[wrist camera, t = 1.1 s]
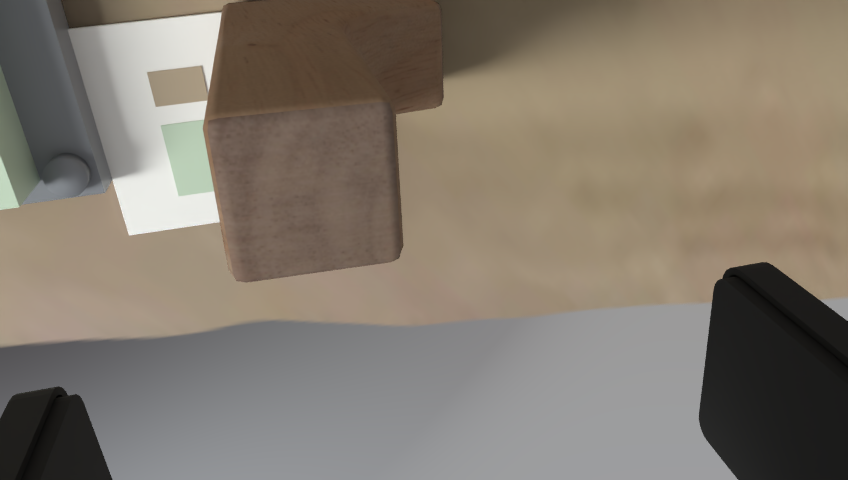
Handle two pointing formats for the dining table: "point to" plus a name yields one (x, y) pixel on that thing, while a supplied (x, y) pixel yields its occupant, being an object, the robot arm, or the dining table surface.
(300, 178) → the wooden block
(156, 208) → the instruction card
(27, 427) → the robot arm
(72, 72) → the baseplate
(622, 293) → the dining table surface
